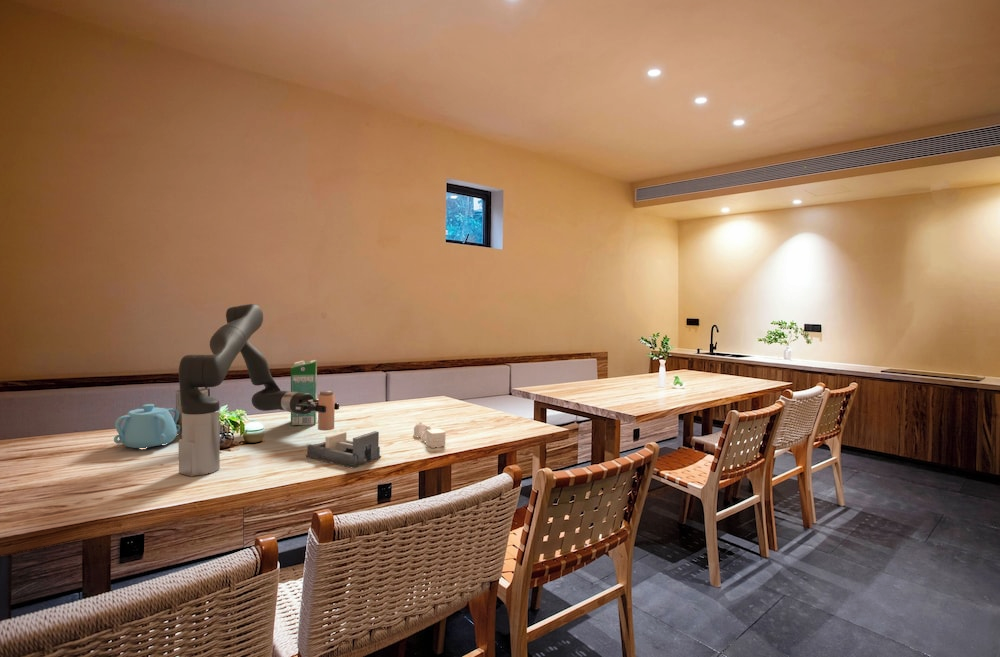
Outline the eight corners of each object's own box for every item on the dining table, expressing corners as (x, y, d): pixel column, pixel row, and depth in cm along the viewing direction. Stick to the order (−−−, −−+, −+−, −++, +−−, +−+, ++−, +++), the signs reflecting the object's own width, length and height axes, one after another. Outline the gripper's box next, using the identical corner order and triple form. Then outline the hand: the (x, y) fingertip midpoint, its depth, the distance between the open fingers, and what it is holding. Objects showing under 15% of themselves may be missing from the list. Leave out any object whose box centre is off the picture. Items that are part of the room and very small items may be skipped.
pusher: (355, 462, 151) (355, 442, 151) (325, 455, 157) (325, 436, 157) (372, 456, 158) (372, 437, 157) (342, 449, 163) (342, 431, 163)
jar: (325, 431, 171) (326, 393, 171) (314, 429, 174) (315, 391, 173) (337, 428, 176) (338, 391, 175) (326, 426, 178) (326, 389, 178)
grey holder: (353, 468, 148) (354, 439, 148) (305, 457, 158) (306, 430, 157) (380, 457, 159) (381, 431, 159) (334, 447, 168) (334, 422, 168)
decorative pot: (187, 438, 175) (187, 399, 174) (162, 452, 159) (162, 409, 158) (136, 439, 173) (136, 400, 172) (106, 452, 157) (105, 409, 156)
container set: (445, 447, 172) (445, 431, 172) (431, 449, 170) (431, 433, 170) (424, 433, 190) (424, 419, 190) (411, 435, 187) (411, 420, 187)
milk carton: (292, 420, 203) (293, 359, 202) (316, 419, 206) (316, 359, 205) (290, 426, 195) (290, 362, 193) (315, 424, 197) (315, 361, 196)
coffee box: (211, 431, 184) (211, 388, 183) (199, 436, 177) (198, 391, 176) (188, 430, 185) (187, 387, 184) (175, 435, 178) (174, 390, 177)
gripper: (280, 395, 175) (315, 400, 167) (313, 389, 187) (347, 394, 180) (280, 416, 175) (315, 422, 167) (313, 409, 188) (346, 415, 180)
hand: (331, 407), depth 173 cm, fingers closed on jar, 5 cm apart
